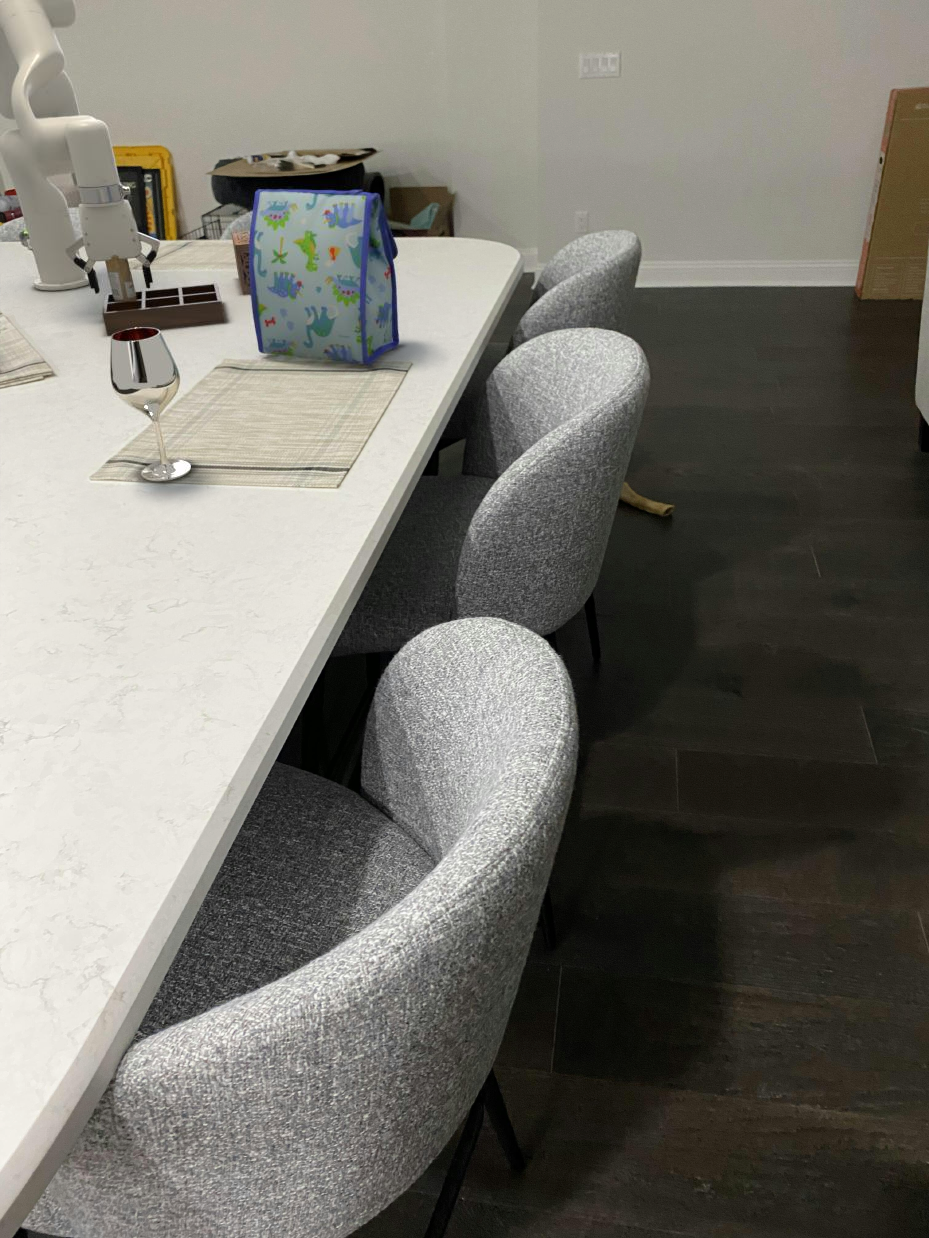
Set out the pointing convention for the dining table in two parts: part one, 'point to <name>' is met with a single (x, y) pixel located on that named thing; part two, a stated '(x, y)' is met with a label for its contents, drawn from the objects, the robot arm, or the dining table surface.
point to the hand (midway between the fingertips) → (123, 289)
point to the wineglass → (147, 387)
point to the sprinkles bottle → (120, 278)
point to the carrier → (165, 309)
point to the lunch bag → (323, 275)
